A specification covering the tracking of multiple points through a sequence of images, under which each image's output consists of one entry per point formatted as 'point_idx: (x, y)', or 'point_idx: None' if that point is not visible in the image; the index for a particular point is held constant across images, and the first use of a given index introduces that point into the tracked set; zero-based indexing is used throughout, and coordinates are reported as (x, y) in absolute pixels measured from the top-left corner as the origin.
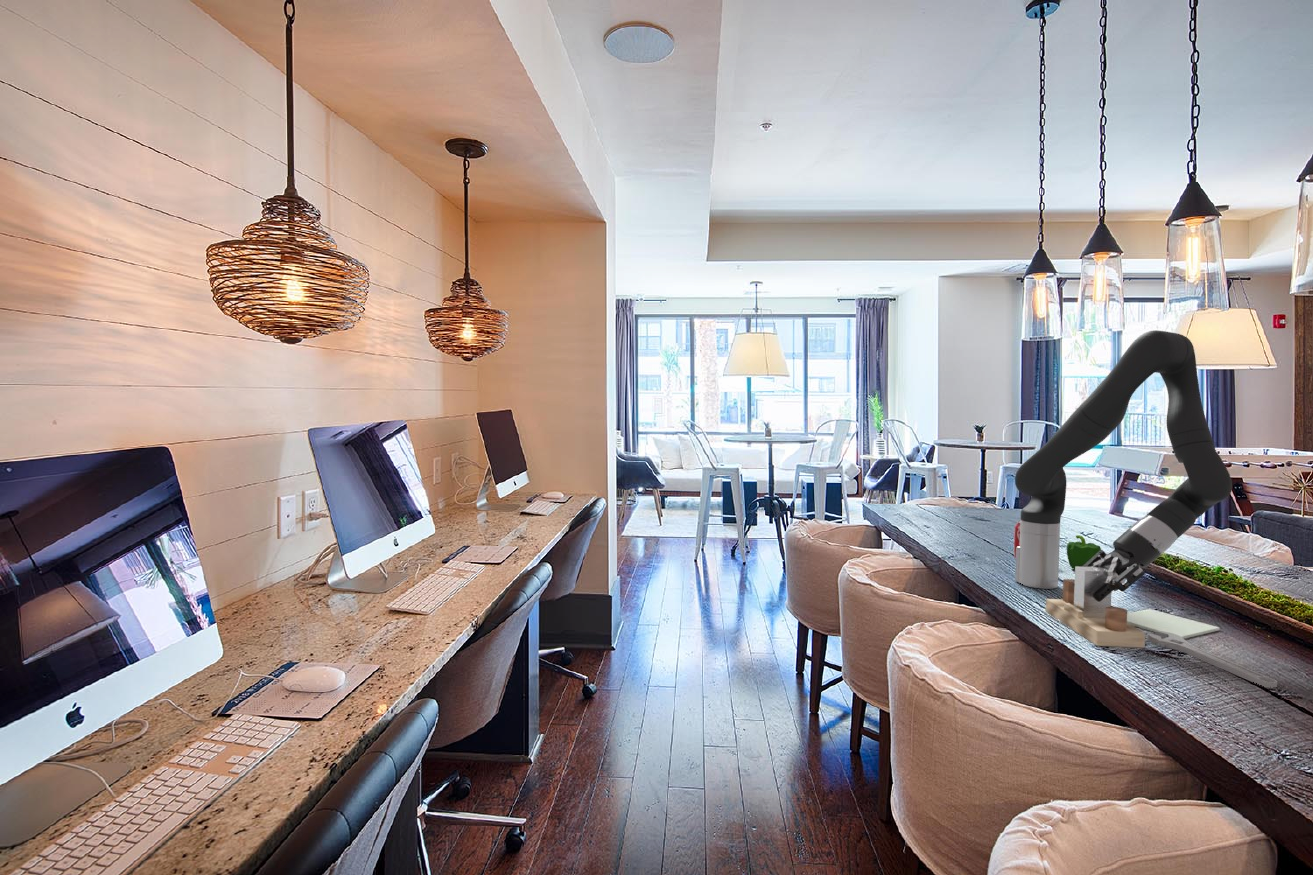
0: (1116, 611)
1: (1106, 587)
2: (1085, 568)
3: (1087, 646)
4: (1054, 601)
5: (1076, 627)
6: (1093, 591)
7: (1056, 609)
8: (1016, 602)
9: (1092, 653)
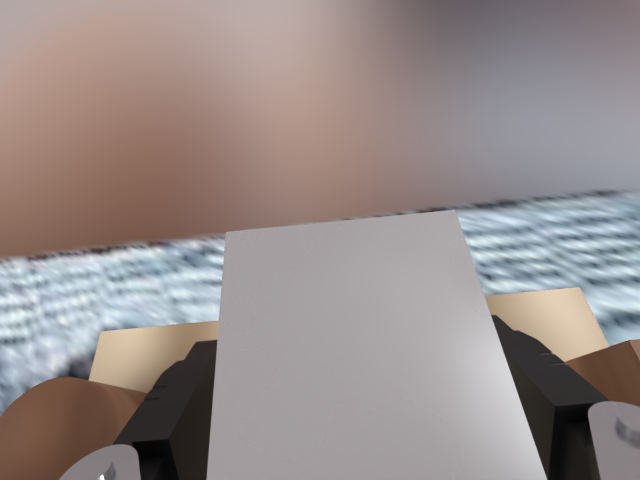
0: (3, 416)
1: (118, 439)
2: (368, 287)
3: (133, 310)
4: (543, 312)
5: None
6: (210, 351)
7: None
8: (631, 236)
9: (72, 300)
